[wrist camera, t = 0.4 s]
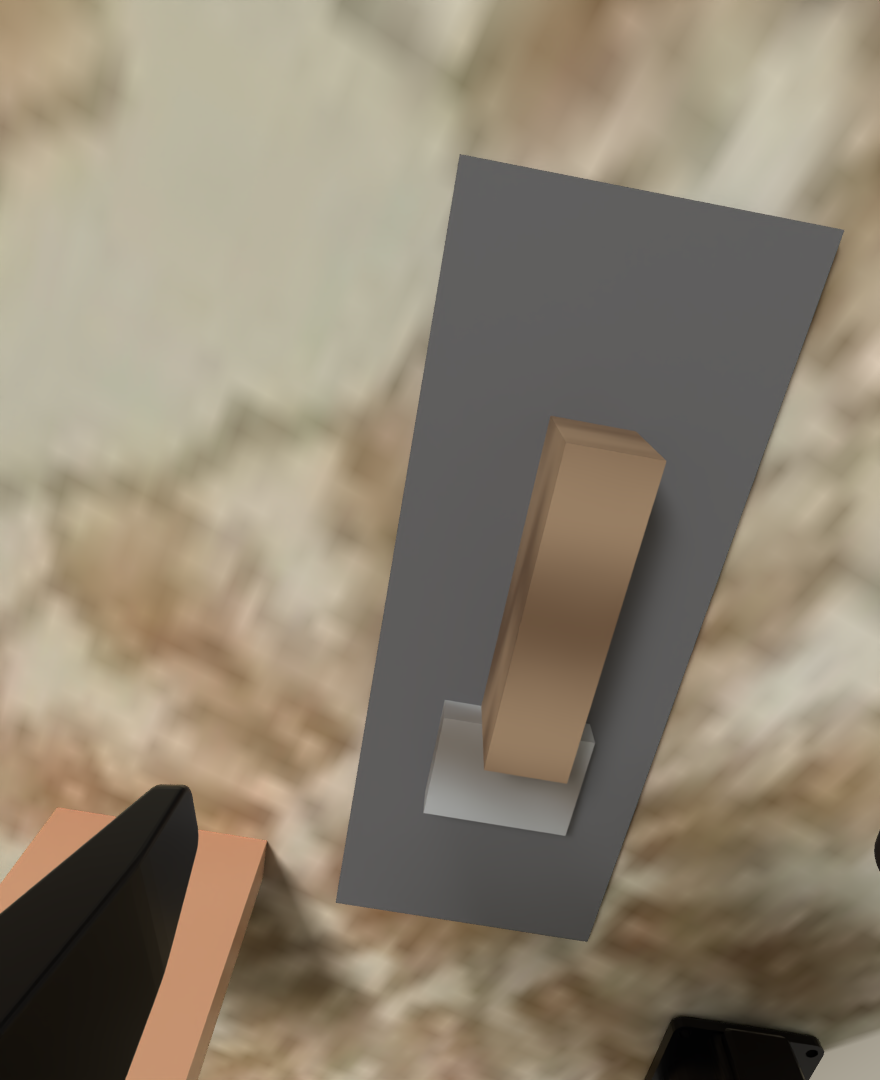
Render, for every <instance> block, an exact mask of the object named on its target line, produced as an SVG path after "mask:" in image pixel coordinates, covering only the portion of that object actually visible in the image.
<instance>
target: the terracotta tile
mask: <svg viewBox="0 0 880 1080" xmlns="http://www.w3.org/2000/svg"><path fill="white" fill-rule="evenodd" d="M115 818H116V817H115V816H108V815H102V814H96V813H89V812H83V811H77V810H70V809H64V808H58V807H57V808H56V810H55V811H54V812H53V814H52V815H51V817H50V818H49V819H48V821H47V822H46V823H45V825H44V826H43V827H42V829H41V830H40V831H39V833H38V834H37V835H36V837H35V838H34V839H33V841H32V842H31V843H30V845H29V846H28V847H27V849H26V850H25V851H24V853H23V854H22V856H21V857H20V858H19V860H18V861H17V862H16V864H15V865H14V866H13V868H12V869H11V870H10V872H9V873H8V874H7V876H6V877H5V878H4V880H3V881H2V882H1V884H0V913H1V912H3V911H4V910H5V909H6V908H7V907H9V906H10V905H11V904H12V903H13V902H15V901H16V900H17V899H18V898H19V897H21V896H22V895H23V894H24V893H26V892H27V891H28V890H29V889H30V888H32V887H33V886H34V885H35V884H36V883H38V882H39V881H40V880H41V879H42V878H44V877H45V876H46V875H47V874H48V873H50V872H51V871H52V870H53V869H55V868H56V867H57V866H58V865H59V864H61V863H62V862H63V861H64V860H65V859H67V858H68V857H69V856H70V855H71V854H73V853H74V852H75V851H76V850H77V849H79V848H80V847H81V846H82V845H84V844H85V843H86V842H87V841H88V840H90V839H91V838H92V837H93V836H94V835H96V834H97V833H98V832H99V831H100V830H102V829H103V828H104V827H105V826H106V825H108V824H109V823H110V822H111V821H112V820H114V819H115ZM198 833H199V839H198V848H197V853H196V856H195V860H194V864H193V868H192V872H191V876H190V879H189V883H188V887H187V891H186V895H185V899H184V902H183V906H182V910H181V914H180V918H179V922H178V925H177V929H176V933H175V937H174V941H173V945H172V948H171V952H170V956H169V959H168V963H167V966H166V970H165V973H164V976H163V979H162V982H161V985H160V988H159V991H158V994H157V996H156V999H155V1002H154V1004H153V1007H152V1010H151V1012H150V1015H149V1018H148V1020H147V1023H146V1026H145V1029H144V1031H143V1034H142V1037H141V1039H140V1042H139V1045H138V1047H137V1050H136V1053H135V1055H134V1058H133V1061H132V1063H131V1066H130V1069H129V1071H128V1074H127V1077H126V1079H125V1080H198V1077H199V1074H200V1071H201V1068H202V1065H203V1062H204V1059H205V1056H206V1052H207V1049H208V1046H209V1043H210V1040H211V1037H212V1034H213V1031H214V1028H215V1025H216V1022H217V1018H218V1015H219V1012H220V1009H221V1006H222V1003H223V1000H224V997H225V994H226V991H227V988H228V985H229V981H230V978H231V975H232V972H233V969H234V966H235V963H236V960H237V957H238V954H239V951H240V948H241V944H242V941H243V938H244V935H245V932H246V929H247V926H248V923H249V920H250V917H251V914H252V910H253V907H254V904H255V901H256V898H257V895H258V892H259V889H260V886H261V883H262V880H263V872H264V863H265V854H266V845H267V841H266V840H260V839H253V838H247V837H241V836H234V835H228V834H222V833H215V832H209V831H203V830H198Z"/></svg>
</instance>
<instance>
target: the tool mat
mask: <svg viewBox="0 0 880 1080" xmlns="http://www.w3.org/2000/svg"><path fill="white" fill-rule="evenodd" d="M843 232H844V230H841V229H836V228H831V227H826V226H821V225H816V224H811V223H806V222H801V221H796V220H791V219H786V218H781V217H775V216H770V215H765V214H760V213H755V212H750V211H745V210H740V209H735V208H730V207H725V206H720V205H715V204H710V203H704V202H699V201H694V200H689V199H684V198H679V197H674V196H669V195H664V194H659V193H654V192H649V191H644V190H639V189H634V188H628V187H623V186H618V185H613V184H608V183H603V182H598V181H593V180H588V179H583V178H578V177H573V176H568V175H563V174H558V173H552V172H547V171H542V170H537V169H532V168H527V167H522V166H517V165H512V164H507V163H502V162H497V161H492V160H487V159H481V158H476V157H471V156H466V155H461V154H460V157H459V163H458V169H457V175H456V181H455V187H454V193H453V199H452V205H451V211H450V217H449V223H448V229H447V235H446V241H445V247H444V253H443V259H442V265H441V271H440V277H439V283H438V289H437V295H436V301H435V307H434V313H433V319H432V325H431V331H430V338H429V344H428V350H427V356H426V362H425V368H424V374H423V380H422V386H421V392H420V398H419V404H418V410H417V416H416V422H415V428H414V434H413V440H412V446H411V452H410V458H409V464H408V470H407V476H406V482H405V488H404V494H403V500H402V506H401V512H400V518H399V524H398V530H397V536H396V542H395V548H394V554H393V561H392V567H391V573H390V579H389V585H388V591H387V597H386V603H385V609H384V615H383V621H382V627H381V633H380V639H379V645H378V651H377V657H376V663H375V669H374V675H373V681H372V687H371V693H370V699H369V705H368V711H367V717H366V723H365V729H364V735H363V741H362V747H361V753H360V759H359V765H358V771H357V778H356V784H355V790H354V796H353V802H352V808H351V814H350V820H349V826H348V832H347V838H346V844H345V850H344V856H343V862H342V868H341V874H340V880H339V886H338V892H337V898H336V903H342V904H348V905H354V906H361V907H367V908H374V909H380V910H387V911H393V912H399V913H406V914H412V915H419V916H425V917H431V918H438V919H444V920H451V921H457V922H464V923H470V924H476V925H483V926H489V927H496V928H502V929H508V930H515V931H521V932H528V933H534V934H541V935H547V936H553V937H560V938H566V939H573V940H579V941H585V942H587V941H588V938H589V936H590V933H591V930H592V927H593V925H594V922H595V919H596V916H597V914H598V911H599V908H600V905H601V902H602V900H603V897H604V894H605V891H606V889H607V886H608V883H609V880H610V878H611V875H612V872H613V869H614V866H615V864H616V861H617V858H618V855H619V853H620V850H621V847H622V844H623V842H624V839H625V836H626V833H627V830H628V828H629V825H630V822H631V819H632V817H633V814H634V811H635V808H636V806H637V803H638V800H639V797H640V794H641V792H642V789H643V786H644V783H645V781H646V778H647V775H648V772H649V770H650V767H651V764H652V761H653V758H654V756H655V753H656V750H657V747H658V745H659V742H660V739H661V736H662V734H663V731H664V728H665V725H666V722H667V720H668V717H669V714H670V711H671V709H672V706H673V703H674V700H675V698H676V695H677V692H678V689H679V686H680V684H681V681H682V678H683V675H684V673H685V670H686V667H687V664H688V662H689V659H690V656H691V653H692V650H693V648H694V645H695V642H696V639H697V637H698V634H699V631H700V628H701V626H702V623H703V620H704V617H705V614H706V612H707V609H708V606H709V603H710V601H711V598H712V595H713V592H714V590H715V587H716V584H717V581H718V578H719V576H720V573H721V570H722V567H723V565H724V562H725V559H726V556H727V554H728V551H729V548H730V545H731V542H732V540H733V537H734V534H735V531H736V529H737V526H738V523H739V520H740V518H741V515H742V512H743V509H744V506H745V504H746V501H747V498H748V495H749V493H750V490H751V487H752V484H753V482H754V479H755V476H756V473H757V470H758V468H759V465H760V462H761V459H762V457H763V454H764V451H765V448H766V446H767V443H768V440H769V437H770V434H771V432H772V429H773V426H774V423H775V421H776V418H777V415H778V412H779V410H780V407H781V404H782V401H783V398H784V396H785V393H786V390H787V387H788V385H789V382H790V379H791V376H792V374H793V371H794V368H795V365H796V362H797V360H798V357H799V354H800V351H801V349H802V346H803V343H804V340H805V338H806V335H807V332H808V329H809V326H810V324H811V321H812V318H813V315H814V313H815V310H816V307H817V304H818V302H819V299H820V296H821V293H822V290H823V288H824V285H825V282H826V279H827V277H828V274H829V271H830V268H831V266H832V263H833V260H834V257H835V254H836V252H837V249H838V246H839V243H840V241H841V238H842V235H843ZM550 416H555V417H560V418H566V419H571V420H577V421H582V422H588V423H593V424H598V425H604V426H609V427H615V428H620V429H626V430H631V431H636V432H637V433H638V434H639V435H640V436H641V437H642V438H643V439H644V440H645V441H646V442H648V443H649V444H650V445H651V446H652V447H653V448H654V449H655V450H656V451H657V452H658V453H659V454H660V455H661V456H662V457H663V458H664V459H665V460H666V465H665V468H664V471H663V474H662V478H661V481H660V484H659V487H658V491H657V494H656V497H655V500H654V504H653V507H652V510H651V513H650V516H649V520H648V523H647V526H646V529H645V533H644V536H643V539H642V542H641V546H640V549H639V552H638V555H637V559H636V562H635V565H634V568H633V572H632V575H631V578H630V581H629V584H628V588H627V591H626V594H625V597H624V601H623V604H622V607H621V610H620V614H619V617H618V620H617V623H616V627H615V630H614V633H613V636H612V640H611V643H610V646H609V649H608V652H607V656H606V659H605V662H604V665H603V669H602V672H601V675H600V678H599V682H598V685H597V688H596V691H595V695H594V698H593V701H592V704H591V708H590V711H589V714H588V717H587V720H586V724H590V726H591V730H592V734H593V737H594V741H595V745H594V748H593V751H592V754H591V757H590V761H589V764H588V767H587V770H586V773H585V776H584V779H583V782H582V786H581V789H580V792H579V795H578V798H577V801H576V804H575V808H574V811H573V814H572V817H571V820H570V823H569V826H568V829H567V833H566V836H563V835H557V834H551V833H545V832H538V831H532V830H526V829H520V828H514V827H507V826H501V825H495V824H489V823H483V822H476V821H470V820H464V819H458V818H452V817H446V816H439V815H433V814H427V813H424V799H425V790H426V785H427V781H428V776H429V771H430V767H431V762H432V757H433V753H434V748H435V743H436V739H437V734H438V729H439V725H440V720H441V715H442V711H443V706H444V701H445V700H449V701H455V702H461V703H467V704H473V705H479V706H481V705H482V701H483V697H484V693H485V688H486V684H487V680H488V676H489V672H490V667H491V663H492V659H493V655H494V651H495V646H496V642H497V638H498V634H499V630H500V625H501V621H502V617H503V613H504V609H505V604H506V600H507V596H508V592H509V588H510V583H511V579H512V575H513V571H514V567H515V562H516V558H517V554H518V550H519V546H520V542H521V537H522V533H523V529H524V525H525V521H526V516H527V512H528V508H529V504H530V500H531V495H532V491H533V487H534V483H535V479H536V474H537V470H538V466H539V462H540V458H541V453H542V449H543V445H544V441H545V437H546V432H547V428H548V424H549V420H550Z"/></svg>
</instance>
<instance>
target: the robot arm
mask: <svg viewBox="0 0 880 1080" xmlns="http://www.w3.org/2000/svg"><path fill="white" fill-rule="evenodd" d="M198 839H199V833H198V826H197V821H196V815H195V809H194V803H193V798H192V793H191V790H190V789H189V787H188V786H185V785H162V784H161V785H157V786H155V787H153V788H151V789H150V790H149V791H148V792H146V793H145V794H144V795H143V796H141V797H140V798H139V799H138V800H137V801H135V802H134V803H133V804H132V805H131V806H129V807H128V808H127V809H126V810H125V811H123V812H122V813H121V814H120V815H119V816H117V817H116V818H115V819H114V820H112V821H111V822H110V823H109V824H108V825H106V826H105V827H104V828H103V829H102V830H100V831H99V832H98V833H97V834H96V835H94V836H93V837H92V838H91V839H90V840H88V841H87V842H86V843H85V844H84V845H82V846H81V847H80V848H79V849H77V850H76V851H75V852H74V853H73V854H71V855H70V856H69V857H68V858H67V859H65V860H64V861H63V862H62V863H61V864H59V865H58V866H57V867H56V868H55V869H53V870H52V871H51V872H50V873H48V874H47V875H46V876H45V877H44V878H42V879H41V880H40V881H39V882H38V883H36V884H35V885H34V886H33V887H32V888H30V889H29V890H28V891H27V892H26V893H24V894H23V895H22V896H21V897H19V898H18V899H17V900H16V901H15V902H13V903H12V904H11V905H10V906H9V907H7V908H6V909H5V910H4V911H3V912H1V913H0V1080H125V1079H126V1077H127V1074H128V1071H129V1069H130V1066H131V1063H132V1061H133V1058H134V1055H135V1053H136V1050H137V1047H138V1045H139V1042H140V1039H141V1037H142V1034H143V1031H144V1029H145V1026H146V1023H147V1020H148V1018H149V1015H150V1012H151V1010H152V1007H153V1004H154V1002H155V999H156V996H157V994H158V991H159V988H160V985H161V982H162V979H163V976H164V973H165V970H166V966H167V963H168V959H169V956H170V952H171V948H172V945H173V941H174V937H175V933H176V929H177V925H178V922H179V918H180V914H181V910H182V906H183V902H184V899H185V895H186V891H187V887H188V883H189V879H190V876H191V872H192V868H193V864H194V860H195V856H196V853H197V848H198ZM874 853H875V859H876V863H877V866H878V869H879V871H880V831H879V834H878V836H877V839H876V842H875V849H874ZM823 1055H824V1050H823V1048H822V1046H821V1044H820V1042H819V1039H817V1038H816V1037H813V1036H808V1035H801V1034H795V1033H788V1032H782V1031H775V1030H769V1029H762V1028H756V1027H749V1026H742V1025H736V1024H729V1023H723V1022H716V1021H710V1020H703V1019H697V1018H690V1017H678V1018H675V1019H674V1020H672V1022H671V1023H670V1025H669V1027H668V1029H667V1032H666V1034H665V1036H664V1038H663V1041H662V1043H661V1045H660V1047H659V1049H658V1052H657V1054H656V1056H655V1058H654V1060H653V1063H652V1065H651V1067H650V1069H649V1072H648V1074H647V1076H646V1078H645V1080H809V1079H810V1077H811V1075H812V1074H813V1072H814V1070H815V1069H816V1067H817V1065H818V1064H819V1062H820V1060H821V1058H822V1057H823Z"/></svg>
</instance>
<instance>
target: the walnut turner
mask: <svg viewBox="0 0 880 1080" xmlns="http://www.w3.org/2000/svg"><path fill="white" fill-rule="evenodd" d="M665 465H666V460H665V459H664V458H663V457H662V456H661V455H660V454H659V453H658V452H657V451H656V450H655V449H654V448H653V447H652V446H651V445H650V444H649V443H648V442H646V441H645V440H644V439H643V438H642V437H641V436H640V435H639V434H638V433H637V432H636V431H631V430H626V429H620V428H615V427H609V426H604V425H598V424H593V423H588V422H582V421H577V420H571V419H566V418H560V417H555V416H550V420H549V424H548V428H547V432H546V437H545V441H544V445H543V449H542V453H541V458H540V462H539V466H538V470H537V474H536V479H535V483H534V487H533V491H532V495H531V500H530V504H529V508H528V512H527V516H526V521H525V525H524V529H523V533H522V537H521V542H520V546H519V550H518V554H517V558H516V562H515V567H514V571H513V575H512V579H511V583H510V588H509V592H508V596H507V600H506V604H505V609H504V613H503V617H502V621H501V625H500V630H499V634H498V638H497V642H496V646H495V651H494V655H493V659H492V663H491V667H490V672H489V676H488V680H487V684H486V688H485V693H484V697H483V701H482V705H481V706H479V705H473V704H467V703H461V702H455V701H449V700H445V701H444V706H443V711H442V715H441V720H440V725H439V729H438V734H437V739H436V743H435V748H434V753H433V757H432V762H431V767H430V771H429V776H428V781H427V785H426V790H425V799H424V813H427V814H433V815H439V816H446V817H452V818H458V819H464V820H470V821H476V822H483V823H489V824H495V825H501V826H507V827H514V828H520V829H526V830H532V831H538V832H545V833H551V834H557V835H563V836H566V833H567V829H568V826H569V823H570V820H571V817H572V814H573V811H574V808H575V804H576V801H577V798H578V795H579V792H580V789H581V786H582V782H583V779H584V776H585V773H586V770H587V767H588V764H589V761H590V757H591V754H592V751H593V748H594V745H595V741H594V737H593V734H592V730H591V726H590V724H586V720H587V717H588V714H589V711H590V708H591V704H592V701H593V698H594V695H595V691H596V688H597V685H598V682H599V678H600V675H601V672H602V669H603V665H604V662H605V659H606V656H607V652H608V649H609V646H610V643H611V640H612V636H613V633H614V630H615V627H616V623H617V620H618V617H619V614H620V610H621V607H622V604H623V601H624V597H625V594H626V591H627V588H628V584H629V581H630V578H631V575H632V572H633V568H634V565H635V562H636V559H637V555H638V552H639V549H640V546H641V542H642V539H643V536H644V533H645V529H646V526H647V523H648V520H649V516H650V513H651V510H652V507H653V504H654V500H655V497H656V494H657V491H658V487H659V484H660V481H661V478H662V474H663V471H664V468H665Z"/></svg>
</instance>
